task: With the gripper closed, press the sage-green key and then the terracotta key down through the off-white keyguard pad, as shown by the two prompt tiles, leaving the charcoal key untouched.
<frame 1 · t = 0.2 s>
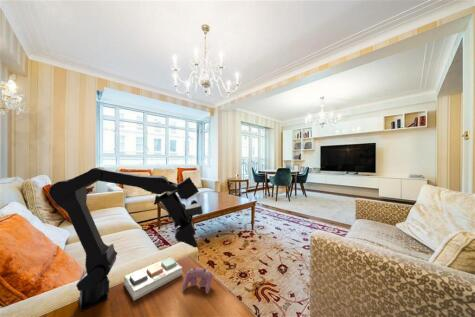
hand: (195, 240, 65), 15 cm above the table, tool tilted 30°, fingers open, 9 cm apart
keyguard pad: (154, 279, 64), on the table
sage key: (168, 264, 68), point 3 cm above the table, slide at 0.0 cm
charcoal key: (138, 278, 60), point 3 cm above the table, slide at 0.0 cm
terracotta key: (154, 270, 64), point 3 cm above the table, slide at 0.0 cm
video game controller: (197, 287, 61), on the table
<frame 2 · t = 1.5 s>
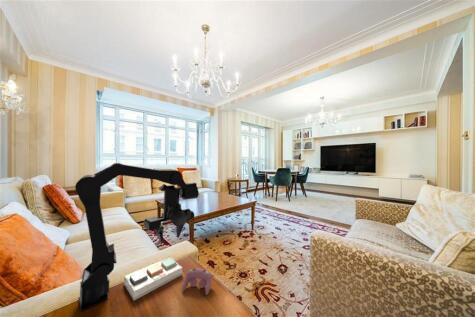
hand: (169, 239, 68), 13 cm above the table, tool pointing down, fingers open, 7 cm apart
nothing on the table moved.
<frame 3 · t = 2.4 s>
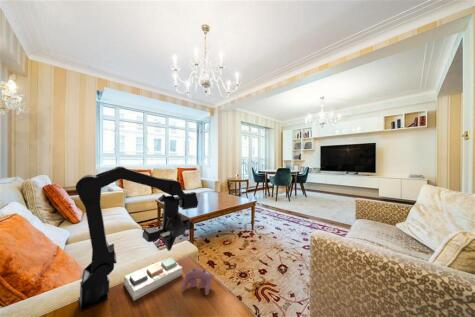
hand: (169, 250, 68), 9 cm above the table, tool pointing down, fingers closed
nothing on the table moved.
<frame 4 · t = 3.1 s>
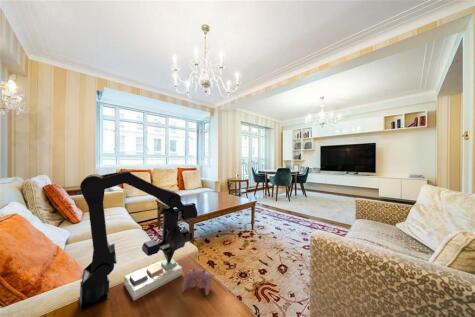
hand: (168, 262, 68), 4 cm above the table, tool pointing down, fingers closed, pressing on sage key
sage key: (168, 264, 68), point 3 cm above the table, slide at 0.1 cm, touching gripper
everything else where it was.
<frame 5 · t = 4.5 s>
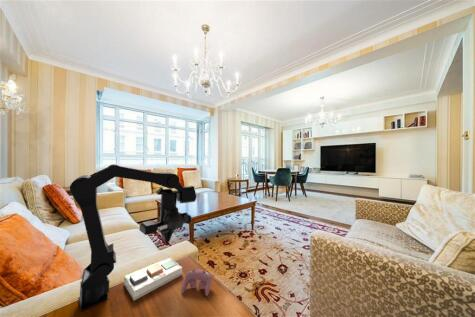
hand: (166, 244, 67), 12 cm above the table, tool pointing down, fingers closed
sage key: (168, 266, 68), point 2 cm above the table, slide at 1.0 cm
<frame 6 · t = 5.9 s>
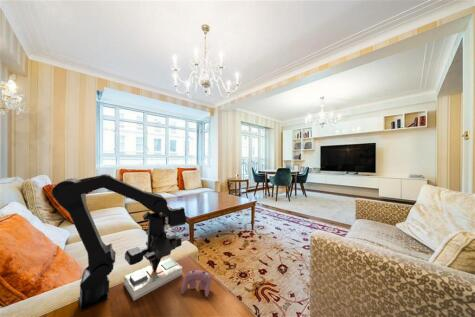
hand: (154, 270, 64), 3 cm above the table, tool pointing down, fingers closed, pressing on terracotta key
terracotta key: (154, 273, 64), point 2 cm above the table, slide at 0.9 cm, touching gripper
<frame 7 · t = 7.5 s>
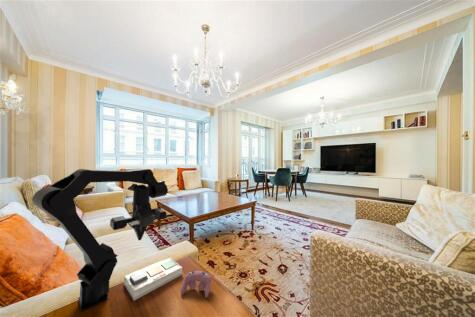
hand: (139, 239, 67), 13 cm above the table, tool pointing down, fingers closed
terracotta key: (154, 273, 64), point 2 cm above the table, slide at 1.0 cm
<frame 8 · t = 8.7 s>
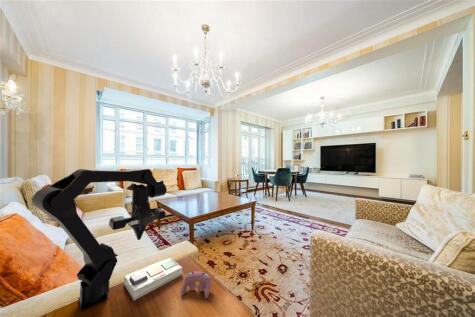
hand: (138, 239, 67), 13 cm above the table, tool pointing down, fingers closed
at the end: sage key slide at 1.0 cm; terracotta key slide at 1.0 cm; charcoal key slide at 0.0 cm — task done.
